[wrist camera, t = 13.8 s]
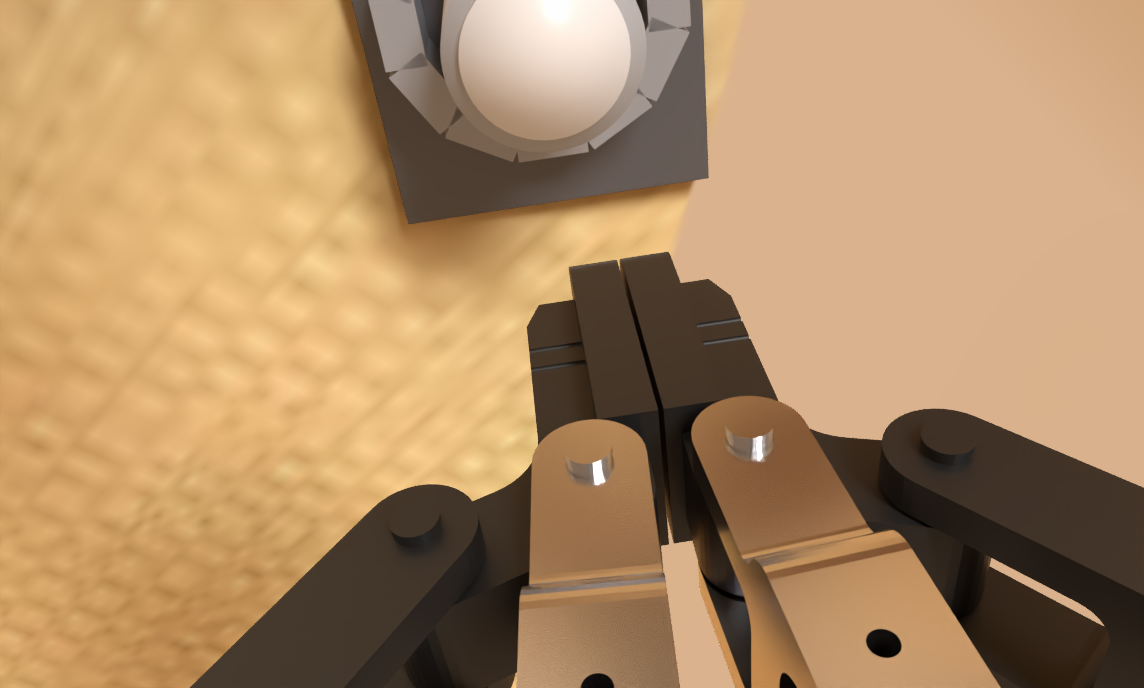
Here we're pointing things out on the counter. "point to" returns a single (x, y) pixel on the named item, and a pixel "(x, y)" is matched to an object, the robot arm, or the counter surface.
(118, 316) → the counter surface
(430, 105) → the plate with ring hole
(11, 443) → the counter surface
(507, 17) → the peg
